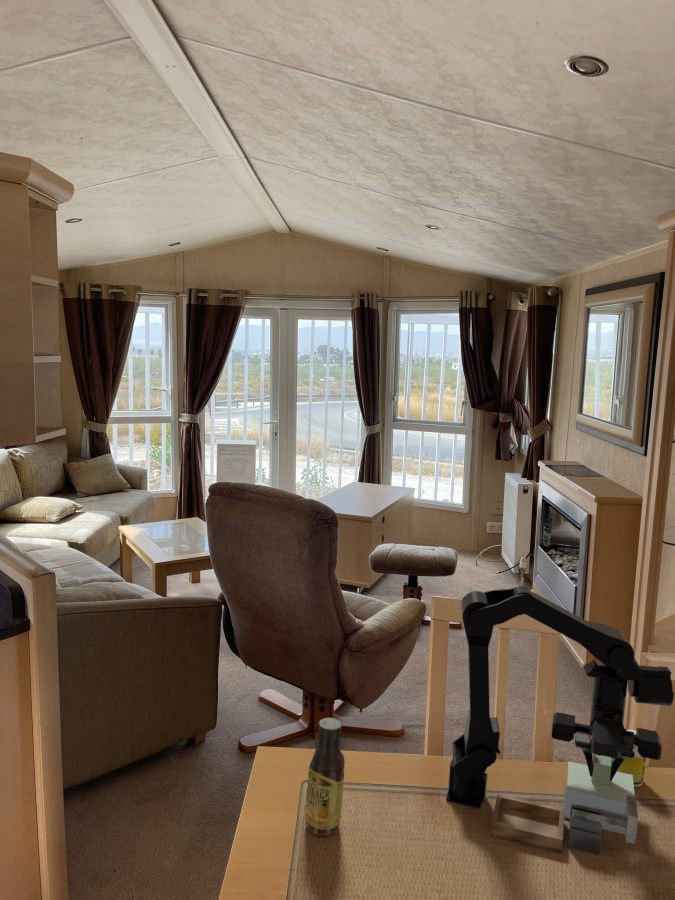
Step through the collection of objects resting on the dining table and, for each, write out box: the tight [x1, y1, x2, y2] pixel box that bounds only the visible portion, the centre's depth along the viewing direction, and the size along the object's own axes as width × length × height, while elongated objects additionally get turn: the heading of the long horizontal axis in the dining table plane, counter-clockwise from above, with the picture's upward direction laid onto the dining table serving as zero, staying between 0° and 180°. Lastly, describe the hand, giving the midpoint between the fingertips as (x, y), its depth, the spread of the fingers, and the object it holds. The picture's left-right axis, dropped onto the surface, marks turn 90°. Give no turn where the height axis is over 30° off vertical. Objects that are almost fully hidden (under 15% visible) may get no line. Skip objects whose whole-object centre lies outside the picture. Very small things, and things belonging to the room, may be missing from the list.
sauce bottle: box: [304, 717, 346, 837], centre depth 128 cm, size 6×6×20 cm
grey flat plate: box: [563, 786, 626, 821], centre depth 138 cm, size 12×10×1 cm
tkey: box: [572, 795, 639, 845], centre depth 127 cm, size 10×6×5 cm, turn 71°
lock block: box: [567, 804, 602, 856], centre depth 128 cm, size 5×5×5 cm
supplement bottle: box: [617, 729, 647, 788], centre depth 147 cm, size 5×5×10 cm
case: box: [490, 793, 565, 854], centre depth 132 cm, size 12×9×2 cm
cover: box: [566, 754, 636, 803], centre depth 137 cm, size 12×9×5 cm
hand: (600, 777), depth 137 cm, fingers closed on cover, 3 cm apart
